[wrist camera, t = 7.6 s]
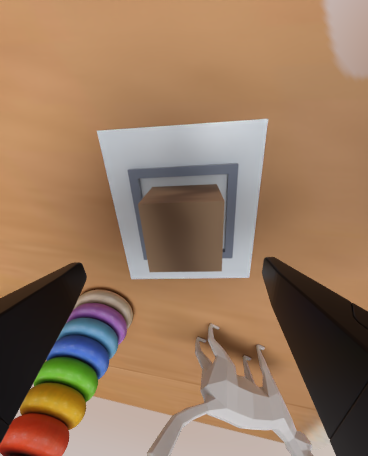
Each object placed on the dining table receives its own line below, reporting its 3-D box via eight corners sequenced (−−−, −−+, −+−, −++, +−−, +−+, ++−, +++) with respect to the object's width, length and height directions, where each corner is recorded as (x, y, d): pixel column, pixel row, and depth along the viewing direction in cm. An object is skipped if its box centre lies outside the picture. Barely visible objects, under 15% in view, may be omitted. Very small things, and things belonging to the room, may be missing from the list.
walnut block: (216, 184, 17) (224, 200, 13) (215, 240, 20) (221, 271, 15) (152, 186, 18) (137, 204, 13) (159, 242, 20) (149, 272, 16)
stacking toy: (93, 276, 24) (-138, 596, 7) (145, 305, 26) (55, 614, 9) (69, 309, 27) (-134, 591, 10) (117, 333, 29) (12, 605, 12)
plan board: (263, 119, 16) (270, 118, 14) (247, 272, 23) (250, 281, 21) (102, 131, 17) (93, 130, 15) (133, 273, 24) (129, 282, 22)
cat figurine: (268, 368, 31) (319, 527, 18) (160, 324, 28) (132, 482, 15) (287, 355, 29) (358, 520, 17) (174, 306, 26) (156, 468, 13)
